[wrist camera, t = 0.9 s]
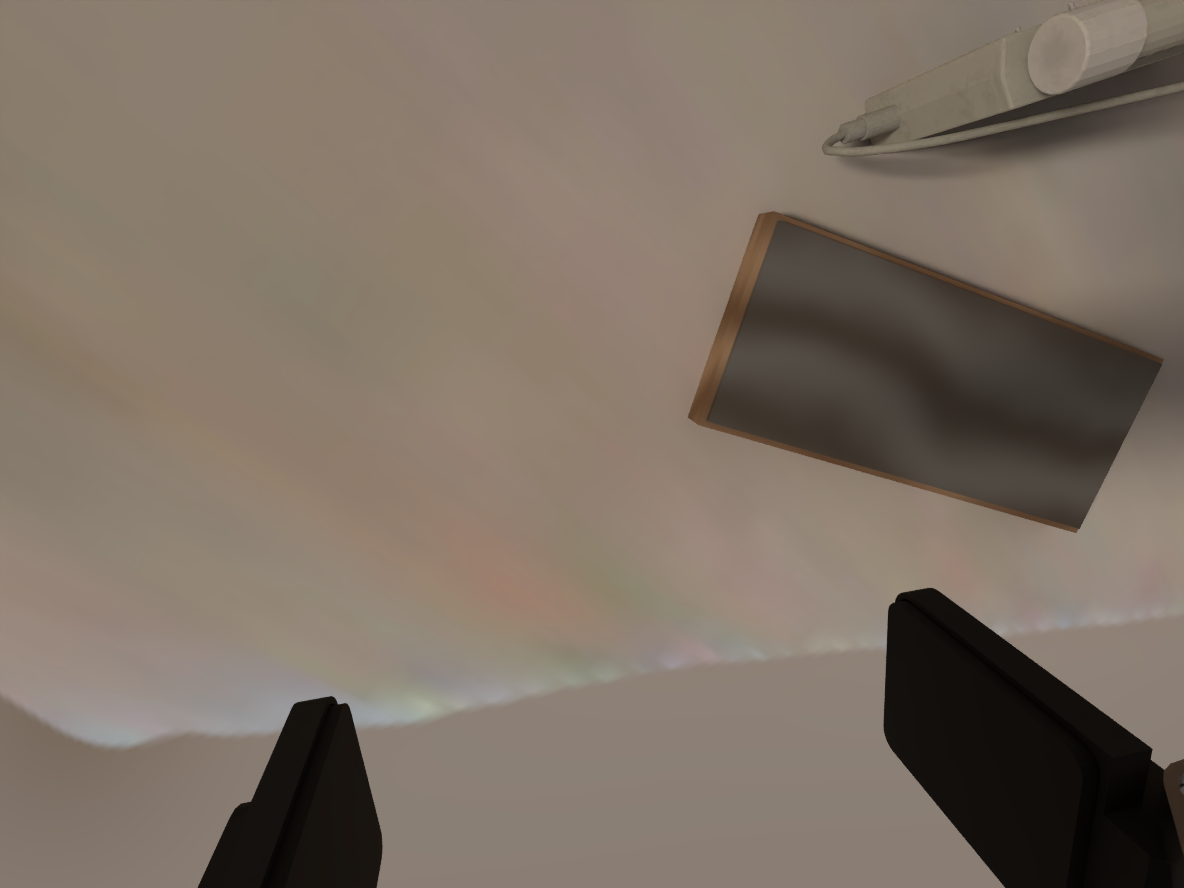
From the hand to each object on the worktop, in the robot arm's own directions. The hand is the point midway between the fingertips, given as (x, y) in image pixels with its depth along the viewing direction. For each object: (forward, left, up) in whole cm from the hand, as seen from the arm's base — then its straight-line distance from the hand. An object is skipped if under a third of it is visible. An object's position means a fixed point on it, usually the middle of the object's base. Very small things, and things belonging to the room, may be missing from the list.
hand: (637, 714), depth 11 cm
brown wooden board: (-8, +25, -30) cm, 40 cm away
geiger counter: (-25, +21, -30) cm, 44 cm away
